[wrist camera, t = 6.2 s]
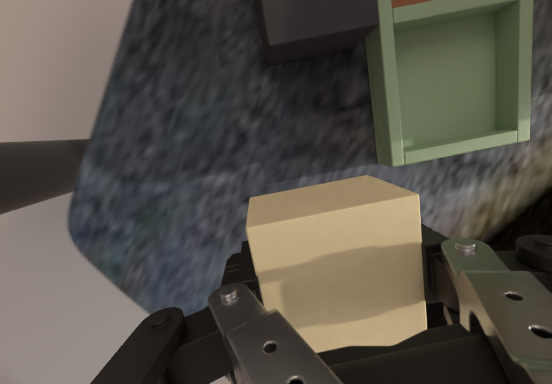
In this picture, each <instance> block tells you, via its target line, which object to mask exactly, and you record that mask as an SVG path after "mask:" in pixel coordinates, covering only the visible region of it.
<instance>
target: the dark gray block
mask: <svg viewBox="0 0 552 384" xmlns="http://www.w3.org/2000/svg"><path fill="white" fill-rule="evenodd" d="M255 4H256V10H257V15H258V20H259V26H260V31H261V36H262V42H263V47H264V53H265V58H266V63H267V66H270V65H275V64H280V63H285V62H290V61H295V60H300V59H306V58H311V57H316V56H321V55H326V54H331V53H336V52H341V51H346V50H351V49H353V48H354V47H355V46H357V45H358V44H359V43H360V42H361V41H362V40H363V39H364V38H365V37H366V36H367V35H369V34H370V33H371V32H372V31H373V30H374V29H375V28H376V27H377V26H378V25H379V12H378V1H377V0H255Z"/></svg>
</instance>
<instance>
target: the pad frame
mask: <svg viewBox="0 0 552 384" xmlns="http://www.w3.org/2000/svg"><path fill="white" fill-rule="evenodd" d="M377 1H378V12H379V25H378V26H377V27H376V28H375V29H374V30H373V31H372V32H371V33H370V34H369V35H367V36H366V37H365V46H366V56H367V66H368V75H369V85H370V94H371V104H372V114H373V123H374V133H375V142H376V152H377V162H378V164H383V165H386V166H390V167H397V166H402V165H407V164H412V163H417V162H422V161H427V160H432V159H437V158H442V157H447V156H452V155H457V154H462V153H467V152H472V151H477V150H482V149H487V148H492V147H497V146H502V145H507V144H512V143H516V142H517V143H518V142H523V141H528V140H529V139H530V104H531V70H532V36H533V1H534V0H377Z"/></svg>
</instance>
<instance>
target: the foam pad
mask: <svg viewBox="0 0 552 384" xmlns="http://www.w3.org/2000/svg"><path fill="white" fill-rule="evenodd" d="M246 234H247V238H248V243H249V247H250V252H251V256H252V261H253V265H254V269H255V274H256V276H258V280H259V285H260V289H261V294H262V298H263V303H264V307H265V309H266V310H267V311H270V310H272V309H274V308H275V309H277V310H278V311H279V312H280V313H281V314H282V315H283V316H284V317H285V319H286V320H287V321H288V322H289V323H290V324H291V325H292V326H293V328H294V329H295V330H296V331H297V332H298V333H299V334H300V335H301V337H302V338H303V339H304V340H305V341H306V342H307V343H308V344H309V346H310V347H311V348H312V349H313V350H314V351H315V352H316V353H318V352H323V351H328V350H333V349H337V348H342V347H347V346H392V345H395V344H397V343H399V342H401V341H403V340H405V339H407V338H410V337H412V336H414V335H416V334H418V333H420V332H422V331H424V330H427V320H426V304H425V297H424V281H423V264H422V248H421V243H422V238H421V221H420V205H419V195H418V194H416V193H414V192H411V191H408V190H406V189H403V188H401V187H398V186H395V185H393V184H390V183H387V182H385V181H382V180H380V179H377V178H374V177H372V176H369V175H365V176H360V177H355V178H350V179H344V180H339V181H334V182H329V183H324V184H319V185H314V186H308V187H303V188H298V189H293V190H288V191H283V192H277V193H272V194H267V195H262V196H257V197H252V198H250V200H249V208H248V215H247V222H246Z"/></svg>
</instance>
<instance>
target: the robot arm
mask: <svg viewBox="0 0 552 384" xmlns="http://www.w3.org/2000/svg"><path fill="white" fill-rule="evenodd" d="M421 238H422V243H421V248H422V264H423V281H424V297H425V301H426V302H427V303H428V304H432V303H436V302H441V301H442V302H443V303H444V315H445V318H446V320H447V323H448V325H446V326H442V327H437V328H432V329H427V330H424V331H422V332H420V333H418V334H416V335H414V336H412V337H410V338H407V339H405V340H403V341H401V342H399V343H397V344H395V345H392V346H347V347H342V348H337V349H333V350H328V351H323V352H318V353H316V352H315V351H314V350H313V349H312V348H311V347H310V346H309V344H308V343H307V342H306V341H305V340H304V339H303V338H302V337H301V335H300V334H299V333H298V332H297V331H296V330H295V329H294V328H293V326H292V325H291V324H290V323H289V322H288V321H287V320H286V319H285V317H284V316H283V315H282V314H281V313H280V312H279V311H278V310H277V309H275V308H274V309H272V310H270V311H267V310H266V309H265V307H264V303H263V298H262V294H261V289H260V285H259V280H258V276H256V274H255V269H254V265H253V261H252V256H251V252H250V247H249V243H248V241H243V242H242V248H241V253H236V254H232V256H231V257H230V258H229V259H228V260H227V262H226V268H225V271H224V275H223V279H222V283H221V287H220V288H218V289H217V290H215V291H214V292H213V293H212V294H211V295H210V296H209V298H208V305H209V306H208V307H206V308H205V309H203V310H201V311H199V312H196V313H194V314H191V315H189V316H187V317H184V315H183V311H182V310H181V309H179V308H176V307H171V308H165V309H162V310H159V311H157V312H155V313H153V314H151V315H150V316H148V317H147V318H146V319H144V320H143V321H142V322H141V323H140V324H139V326H138V327H137V328H136V329H135V330H134V332H133V333H132V334H131V335H130V336H129V338H128V339H127V340H126V341H125V342H124V344H123V345H122V346H121V347H120V348H119V350H118V351H117V352H116V353H115V354H114V356H113V357H112V358H111V359H110V360H109V362H108V363H107V364H106V365H105V366H104V368H103V369H102V370H101V371H100V372H99V374H98V375H97V376H96V377H95V378H94V380H93V381H92V382H91V383H90V384H209V383H211V382H213V381H215V380H217V379H219V378H221V377H223V376H225V375H226V374H228V376H229V378H230V381H231V383H232V384H552V236H545V235H527V236H522V237H519V238H518V239H517V240H516V251H493V250H492V249H491V248H490V247H489V246H488V245H487V244H485V243H483V242H480V241H477V240H473V239H466V238H455V239H449V238H447V237H445V236H443V235H441V234H440V233H438V232H436V231H434V230H432V229H431V228H429V227H428V228H427V226H425V225H423V224H422V223H421Z"/></svg>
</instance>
